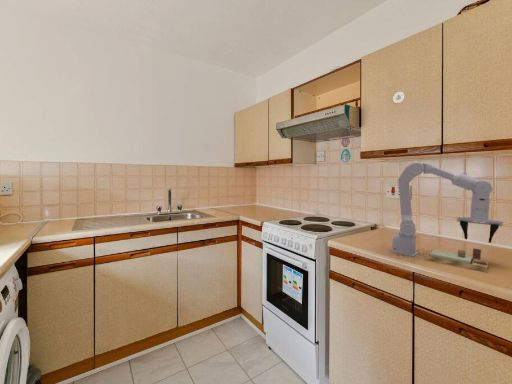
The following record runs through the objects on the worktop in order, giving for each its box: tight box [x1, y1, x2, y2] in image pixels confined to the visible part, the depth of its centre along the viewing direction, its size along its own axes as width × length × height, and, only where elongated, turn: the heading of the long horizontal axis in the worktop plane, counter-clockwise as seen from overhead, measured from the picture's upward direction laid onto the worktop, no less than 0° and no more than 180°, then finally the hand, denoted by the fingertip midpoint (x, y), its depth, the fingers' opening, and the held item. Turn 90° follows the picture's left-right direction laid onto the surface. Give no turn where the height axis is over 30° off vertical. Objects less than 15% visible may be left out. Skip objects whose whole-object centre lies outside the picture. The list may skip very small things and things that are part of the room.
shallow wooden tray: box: [425, 250, 490, 273], centre depth 106 cm, size 20×10×2 cm, turn 44°
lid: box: [429, 248, 473, 264], centre depth 107 cm, size 13×9×4 cm
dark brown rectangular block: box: [472, 247, 482, 260], centre depth 108 cm, size 2×2×6 cm
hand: (477, 240), depth 107 cm, fingers open, 7 cm apart
